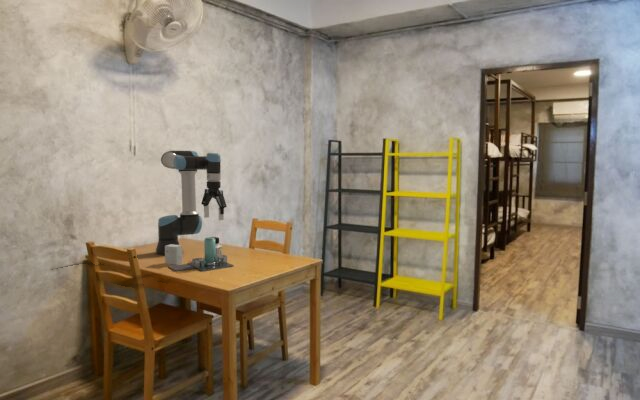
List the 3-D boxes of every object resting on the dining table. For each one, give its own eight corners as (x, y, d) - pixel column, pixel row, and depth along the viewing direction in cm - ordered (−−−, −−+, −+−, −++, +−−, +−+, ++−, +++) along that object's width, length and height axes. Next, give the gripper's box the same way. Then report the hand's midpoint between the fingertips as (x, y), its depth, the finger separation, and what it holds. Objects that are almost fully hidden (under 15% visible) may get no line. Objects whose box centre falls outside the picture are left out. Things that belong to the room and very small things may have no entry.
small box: (182, 263, 262) (182, 245, 261) (176, 265, 256) (176, 246, 255) (171, 261, 264) (170, 244, 263) (164, 263, 259) (164, 245, 258)
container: (217, 260, 270) (216, 238, 269) (204, 259, 271) (204, 238, 270) (222, 257, 277) (222, 236, 276) (210, 256, 279) (210, 235, 278)
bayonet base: (186, 264, 257) (186, 256, 257) (217, 260, 270) (217, 252, 270) (201, 271, 243) (201, 262, 243) (233, 266, 256) (233, 258, 255)
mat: (167, 267, 250) (167, 266, 250) (186, 264, 258) (186, 263, 258) (176, 271, 242) (176, 270, 242) (195, 268, 249) (195, 267, 249)
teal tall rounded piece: (197, 262, 255) (197, 238, 253) (217, 259, 263) (217, 236, 261) (202, 264, 250) (202, 240, 249) (222, 261, 258) (222, 237, 257)
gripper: (195, 180, 258) (195, 216, 261) (221, 182, 242) (221, 221, 244) (206, 179, 264) (206, 215, 266) (232, 182, 248) (232, 220, 250)
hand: (213, 218), depth 255 cm, fingers open, 13 cm apart
